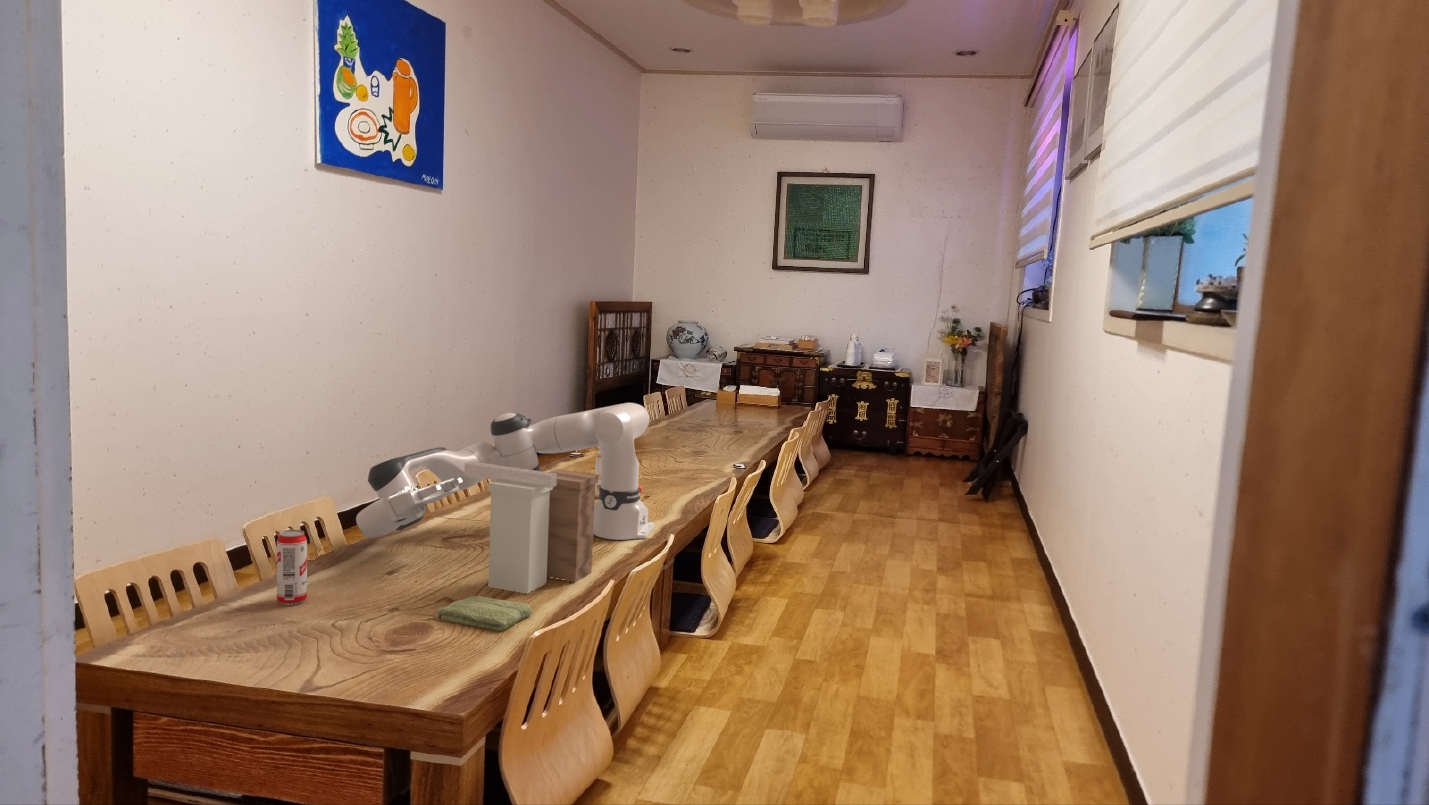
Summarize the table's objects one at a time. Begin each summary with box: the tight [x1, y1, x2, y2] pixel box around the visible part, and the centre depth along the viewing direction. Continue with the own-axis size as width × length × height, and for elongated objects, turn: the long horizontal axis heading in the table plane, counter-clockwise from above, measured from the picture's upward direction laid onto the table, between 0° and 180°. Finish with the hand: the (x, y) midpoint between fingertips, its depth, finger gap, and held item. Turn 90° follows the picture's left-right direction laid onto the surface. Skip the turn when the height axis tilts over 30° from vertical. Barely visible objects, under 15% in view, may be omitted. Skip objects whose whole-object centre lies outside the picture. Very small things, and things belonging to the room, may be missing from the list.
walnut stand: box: [547, 468, 598, 583], centre depth 245 cm, size 10×12×26 cm
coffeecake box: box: [594, 446, 601, 498], centre depth 335 cm, size 15×7×20 cm, turn 179°
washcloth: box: [437, 595, 533, 632], centre depth 214 cm, size 13×18×3 cm
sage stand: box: [487, 480, 553, 595], centre depth 234 cm, size 10×12×26 cm
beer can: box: [276, 529, 308, 606], centre depth 215 cm, size 6×6×16 cm
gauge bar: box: [464, 461, 557, 488], centre depth 233 cm, size 3×24×3 cm, turn 70°
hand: (449, 483), depth 239 cm, fingers open, 8 cm apart
